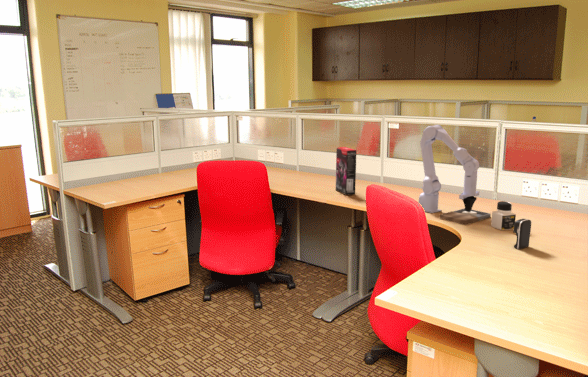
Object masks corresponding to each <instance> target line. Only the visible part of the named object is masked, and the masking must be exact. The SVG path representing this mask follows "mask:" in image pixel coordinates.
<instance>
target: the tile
mask: <svg viewBox="0 0 588 377" xmlns="http://www.w3.org/2000/svg"><path fill="white" fill-rule="evenodd" d="M462 214H466V215H471V216H475V217H476V216H477V212H473V211H471V212H467V211H464V212H462Z"/></svg>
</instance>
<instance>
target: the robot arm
mask: <svg viewBox="0 0 588 377" xmlns="http://www.w3.org/2000/svg"><path fill="white" fill-rule="evenodd" d="M436 140H438V141H442V142H443V143H444V144H445V145H446V146H447V147H448V148H449V149H450V150H452V152H453V156H454V157H455V159H457V161H458V162H459V163H460V164H461V165H462V167H463V168H462V169H463V170H464V179H463V191H462V193H461V194H458V199H459V200H462V202H463V205H464V208H465V210H466V211H467V212H471V210H473V206H474V204H475V202H476V201H477V197H478V196H480V191H479V190H477V183H478V182H477V181H478V170H479V169H480V162H479V160H478V159H476V158H474V157H473V156H472V155H471V154H470V153H469V152H468V149H467V148H464V147H460V146H459V145H458V144H457V143H456V142H455V140H454V139H453V138H452V137H451V136H450V134H449V133H448V132H447V130H446V129H445V128H443V126H442V125H440V124H433V125H429V126H426V127H425V128H424V130H423V131H422V136H421V138H420V141H419V143H420V149H421V158H422V162H423V163H422V165H423V172H424V178H423V180H422V189H421V190H422V192H421V193H420V194H419V197H418V204H419V203H420V204H421V205H422V207H423V208H424V210H425V211H424V212H426V213H430V214H435V213H438V212H441V211H442V209H439V196H440V195H439V194H440V192H439V191H441V189H442V184H441V182H440V179H439V176H437V174H436V173H437V172H436V168H435V167H436V166H435V161H434V159H435V158H434V153H433V152H434V151H433V146H432V145H433V143H435V141H436Z"/></svg>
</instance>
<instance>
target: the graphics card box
mask: <svg viewBox="0 0 588 377" xmlns="http://www.w3.org/2000/svg"><path fill="white" fill-rule="evenodd" d="M335 156H336V157H335V158H336V159H335V160H336V161H335V162H336V163H335V190H336V191H338V192H339V193H341V194H344V195H346V196H349V195H350V196H351V195H356V181H357V180H356V179H357V176H356V175H357V174H356V173H357V149H354V148H351V147H346V146H338V147H336V155H335Z"/></svg>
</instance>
